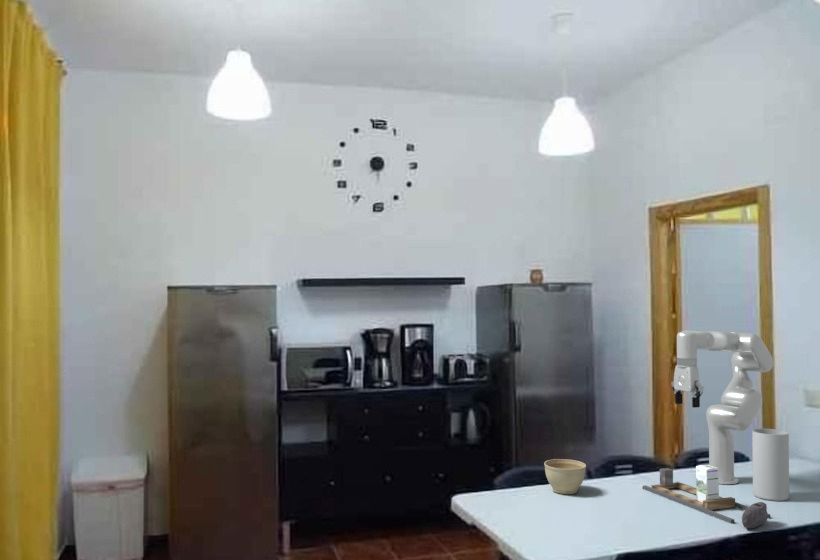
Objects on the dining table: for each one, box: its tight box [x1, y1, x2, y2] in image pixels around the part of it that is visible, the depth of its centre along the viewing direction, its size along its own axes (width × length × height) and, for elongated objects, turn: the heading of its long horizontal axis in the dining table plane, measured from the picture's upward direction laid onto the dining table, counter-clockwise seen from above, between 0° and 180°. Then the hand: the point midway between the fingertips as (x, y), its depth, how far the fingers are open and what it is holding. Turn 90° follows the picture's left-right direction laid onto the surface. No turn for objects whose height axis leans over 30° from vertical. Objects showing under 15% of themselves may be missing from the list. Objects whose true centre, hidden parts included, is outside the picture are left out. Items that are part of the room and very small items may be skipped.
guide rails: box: [642, 481, 771, 524], centre depth 267 cm, size 46×18×1 cm, turn 20°
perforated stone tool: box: [741, 501, 769, 530], centre depth 239 cm, size 15×5×7 cm, turn 129°
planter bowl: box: [543, 458, 587, 495], centre depth 282 cm, size 16×16×11 cm
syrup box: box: [695, 464, 720, 502], centre depth 262 cm, size 6×6×14 cm
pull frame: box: [650, 467, 736, 511], centre depth 272 cm, size 30×13×8 cm, turn 20°
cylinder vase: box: [751, 428, 790, 502], centre depth 274 cm, size 12×12×25 cm
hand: (687, 405), depth 286 cm, fingers open, 9 cm apart
